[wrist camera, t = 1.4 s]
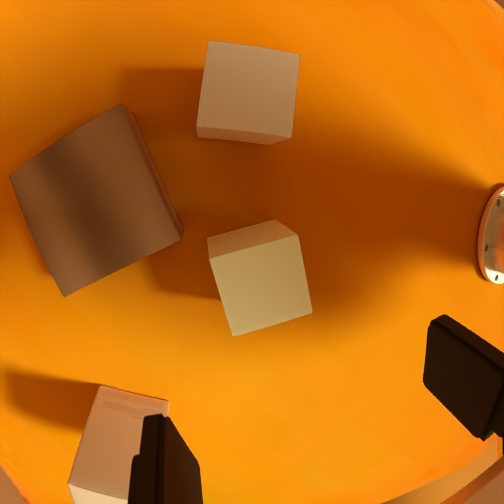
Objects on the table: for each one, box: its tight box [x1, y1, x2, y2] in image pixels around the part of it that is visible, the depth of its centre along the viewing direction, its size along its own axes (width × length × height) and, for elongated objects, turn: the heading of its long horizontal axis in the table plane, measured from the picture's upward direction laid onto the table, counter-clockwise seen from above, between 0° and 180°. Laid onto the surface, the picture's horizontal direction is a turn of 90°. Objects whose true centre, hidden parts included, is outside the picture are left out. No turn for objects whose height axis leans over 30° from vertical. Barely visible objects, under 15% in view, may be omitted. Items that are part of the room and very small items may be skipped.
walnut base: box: [9, 104, 184, 297], centre depth 20 cm, size 10×10×4 cm
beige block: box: [207, 219, 313, 337], centre depth 22 cm, size 6×6×6 cm
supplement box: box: [68, 385, 169, 504], centre depth 21 cm, size 7×7×13 cm
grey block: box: [196, 41, 300, 145], centre depth 19 cm, size 6×6×6 cm
